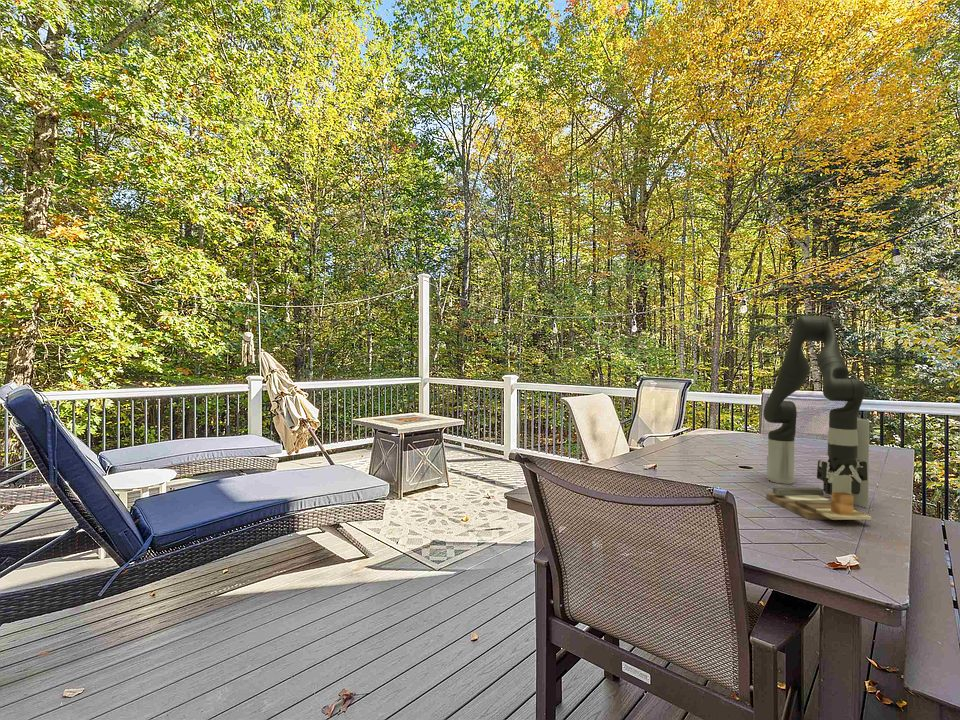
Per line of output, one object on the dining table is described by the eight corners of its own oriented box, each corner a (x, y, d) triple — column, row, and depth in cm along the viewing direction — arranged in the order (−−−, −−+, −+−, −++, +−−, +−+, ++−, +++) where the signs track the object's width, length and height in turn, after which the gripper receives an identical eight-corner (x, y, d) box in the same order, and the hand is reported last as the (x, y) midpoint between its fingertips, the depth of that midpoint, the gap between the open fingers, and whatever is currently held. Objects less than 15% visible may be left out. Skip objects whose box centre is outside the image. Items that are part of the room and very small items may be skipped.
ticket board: (766, 498, 175) (766, 485, 175) (815, 498, 176) (815, 485, 176) (808, 519, 153) (808, 504, 153) (864, 519, 154) (864, 504, 154)
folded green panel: (868, 508, 164) (869, 420, 164) (850, 507, 165) (851, 420, 165) (845, 496, 178) (846, 415, 178) (829, 495, 179) (829, 415, 179)
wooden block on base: (813, 511, 155) (814, 490, 155) (850, 510, 155) (851, 489, 155) (832, 519, 147) (832, 497, 147) (871, 519, 147) (871, 497, 147)
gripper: (855, 440, 155) (854, 490, 155) (811, 440, 155) (810, 490, 155) (875, 444, 147) (873, 497, 148) (828, 444, 147) (828, 497, 148)
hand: (841, 493), depth 151 cm, fingers open, 8 cm apart
